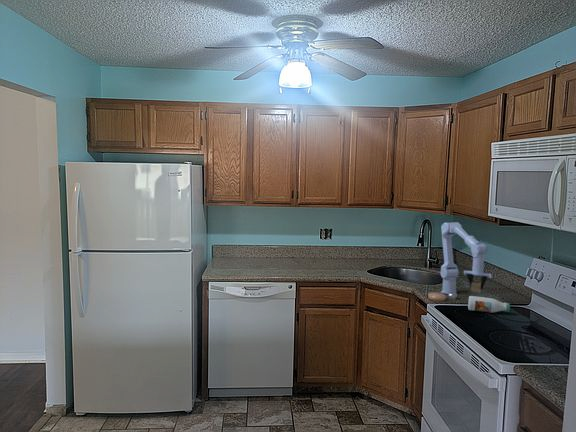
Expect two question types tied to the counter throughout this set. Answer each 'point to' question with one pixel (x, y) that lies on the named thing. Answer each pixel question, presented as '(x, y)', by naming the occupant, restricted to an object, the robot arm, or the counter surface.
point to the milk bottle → (487, 304)
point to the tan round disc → (436, 296)
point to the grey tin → (452, 295)
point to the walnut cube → (476, 286)
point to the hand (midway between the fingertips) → (476, 288)
